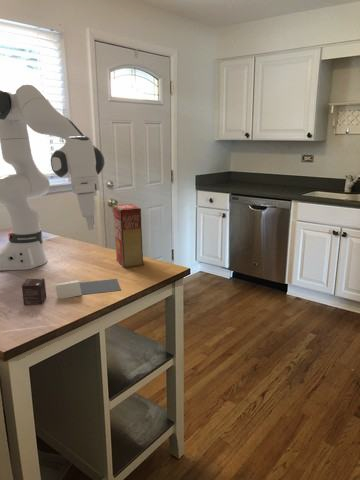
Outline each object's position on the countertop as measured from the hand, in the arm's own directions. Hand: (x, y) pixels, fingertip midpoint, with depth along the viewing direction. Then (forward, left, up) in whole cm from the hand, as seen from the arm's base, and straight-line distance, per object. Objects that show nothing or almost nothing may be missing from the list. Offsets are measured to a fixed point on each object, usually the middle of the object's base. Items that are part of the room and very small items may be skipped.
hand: (91, 227), depth 130 cm
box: (-20, -1, -25) cm, 32 cm away
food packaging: (+17, +32, -24) cm, 44 cm away
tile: (-9, 0, -24) cm, 26 cm away
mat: (+1, +6, -24) cm, 25 cm away
